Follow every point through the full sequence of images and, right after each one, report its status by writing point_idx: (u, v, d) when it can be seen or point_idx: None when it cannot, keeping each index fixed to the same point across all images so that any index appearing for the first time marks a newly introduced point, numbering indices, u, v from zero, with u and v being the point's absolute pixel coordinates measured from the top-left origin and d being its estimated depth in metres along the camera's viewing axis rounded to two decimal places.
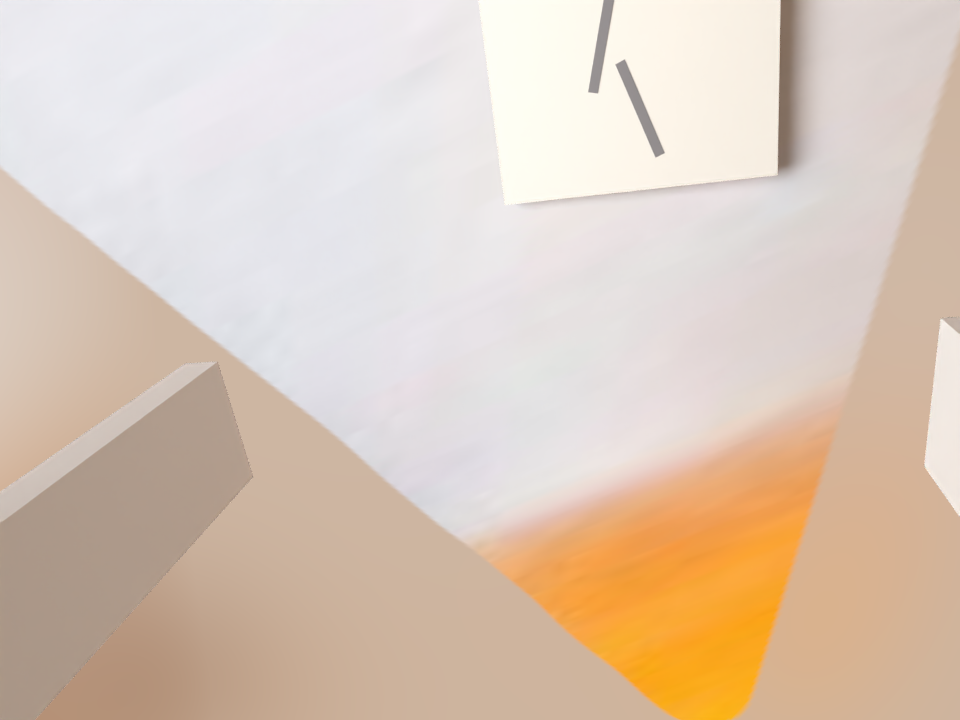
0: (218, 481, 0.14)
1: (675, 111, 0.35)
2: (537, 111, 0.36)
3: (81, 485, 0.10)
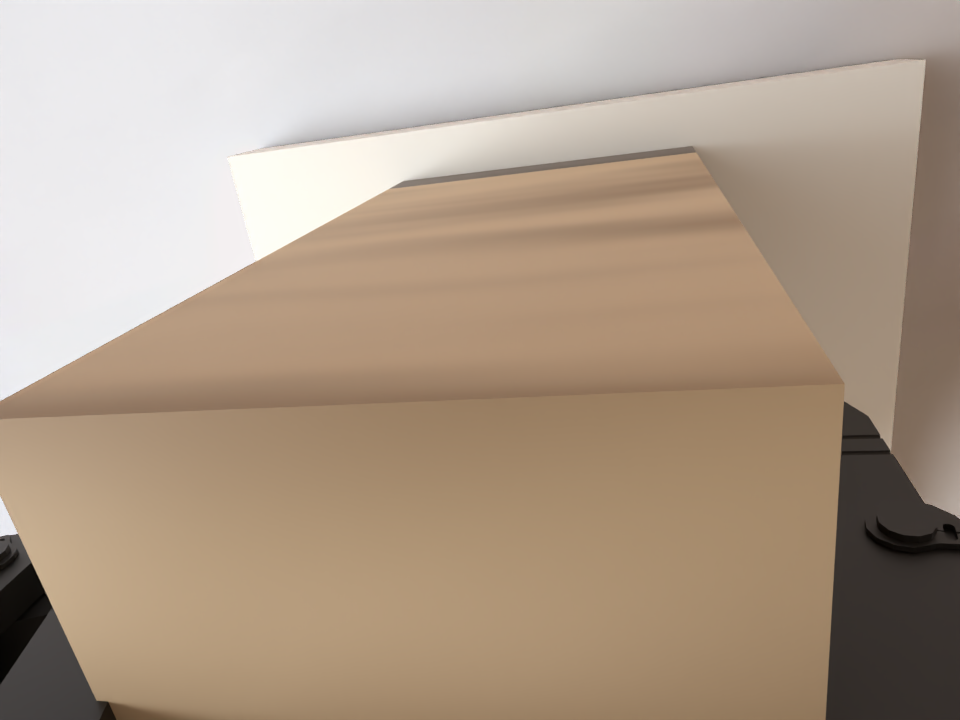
0: None
1: None
2: None
3: None
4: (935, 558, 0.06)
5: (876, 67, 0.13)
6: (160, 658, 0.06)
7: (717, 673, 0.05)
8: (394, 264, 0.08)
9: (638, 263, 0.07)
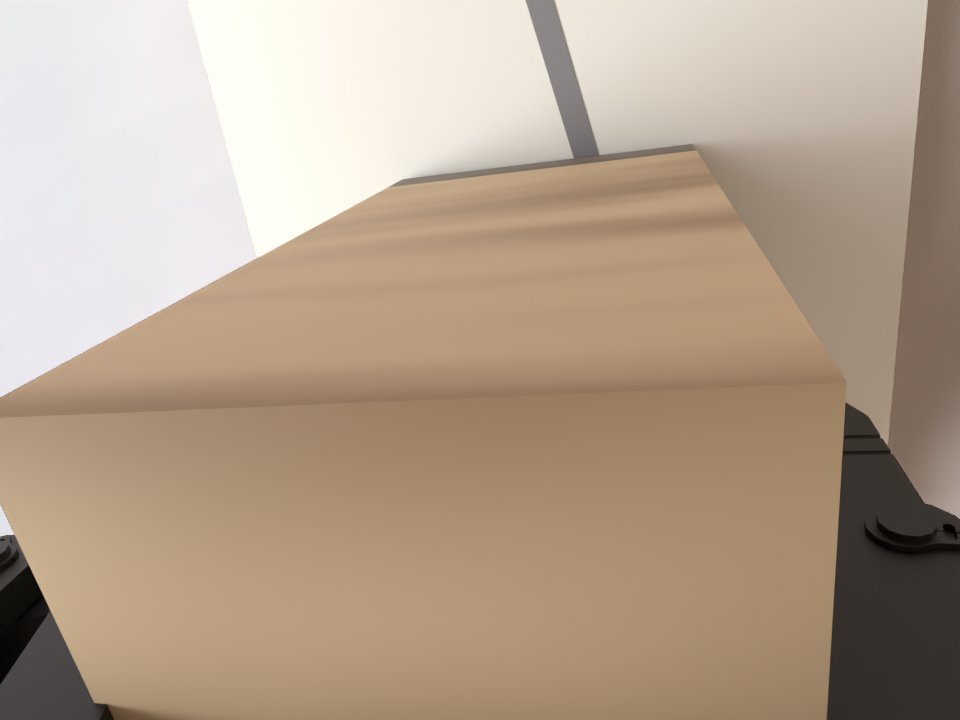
0: None
1: None
2: None
3: None
4: (935, 558, 0.06)
5: None
6: (157, 658, 0.06)
7: (719, 674, 0.05)
8: (393, 262, 0.08)
9: (636, 261, 0.06)
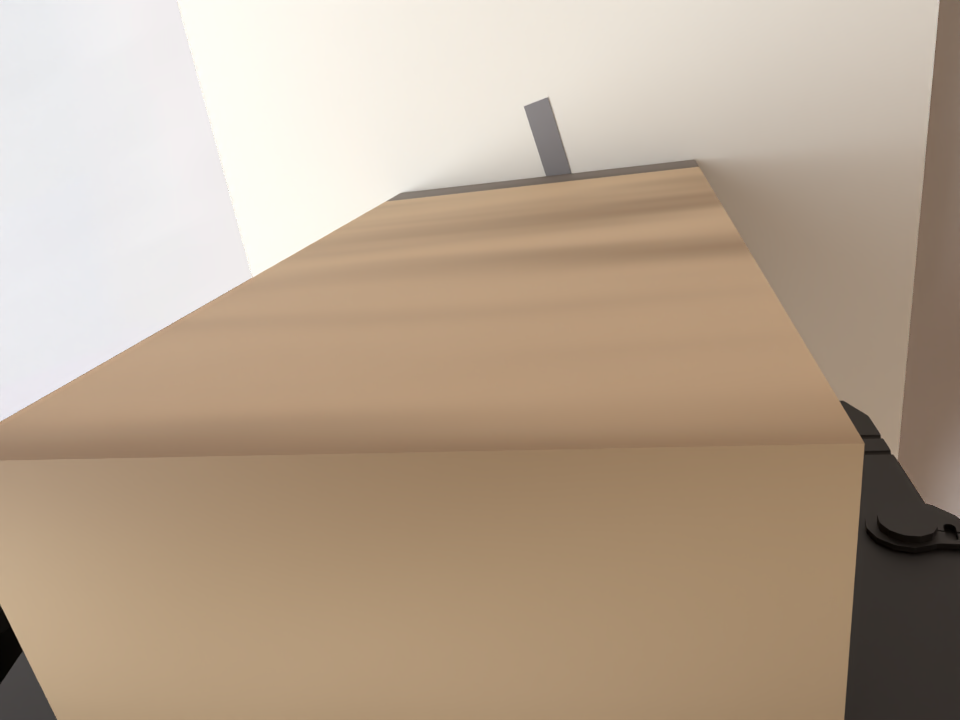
0: None
1: None
2: None
3: None
4: (936, 558, 0.06)
5: None
6: (137, 707, 0.06)
7: None
8: (387, 287, 0.08)
9: (639, 293, 0.06)
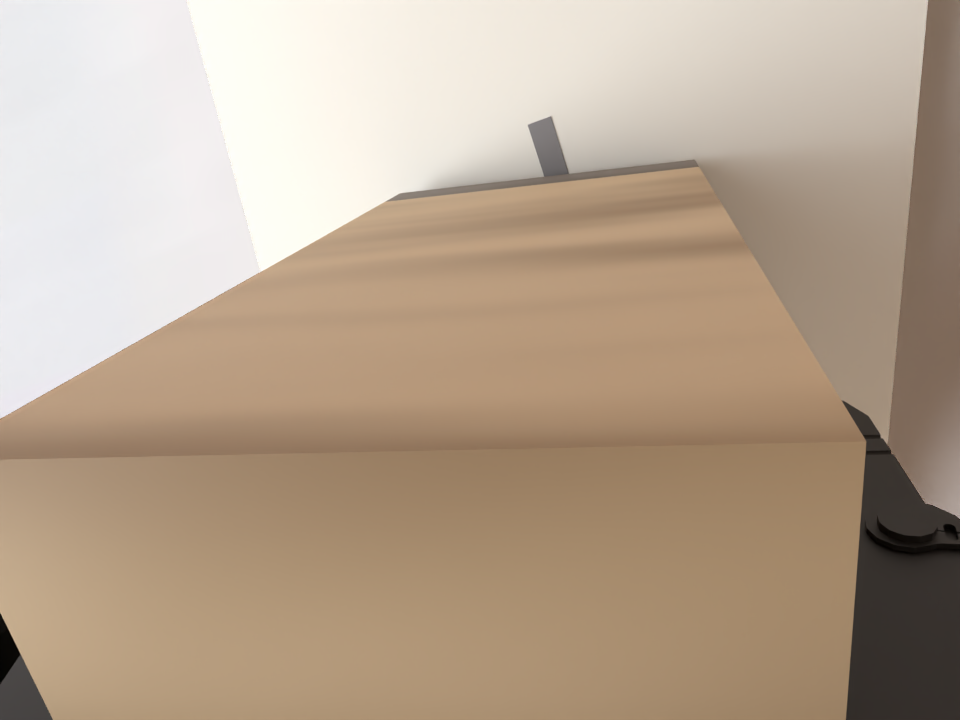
0: None
1: None
2: None
3: None
4: (936, 558, 0.06)
5: None
6: (134, 708, 0.06)
7: None
8: (387, 287, 0.08)
9: (640, 291, 0.06)
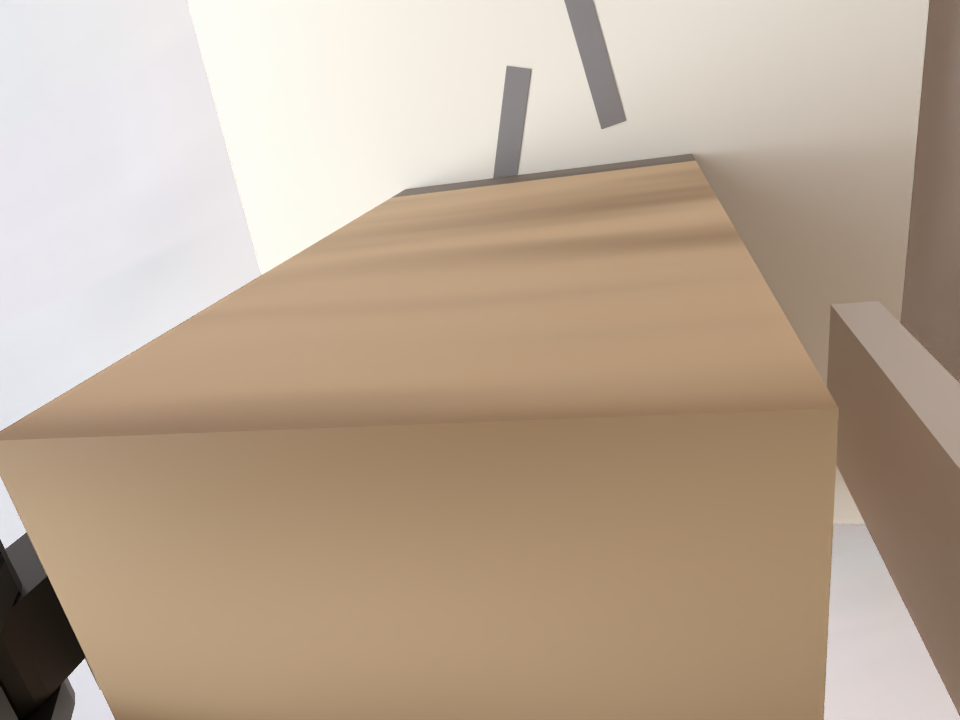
0: None
1: None
2: None
3: None
4: None
5: None
6: (173, 671, 0.06)
7: (717, 685, 0.05)
8: (398, 279, 0.08)
9: (638, 280, 0.07)
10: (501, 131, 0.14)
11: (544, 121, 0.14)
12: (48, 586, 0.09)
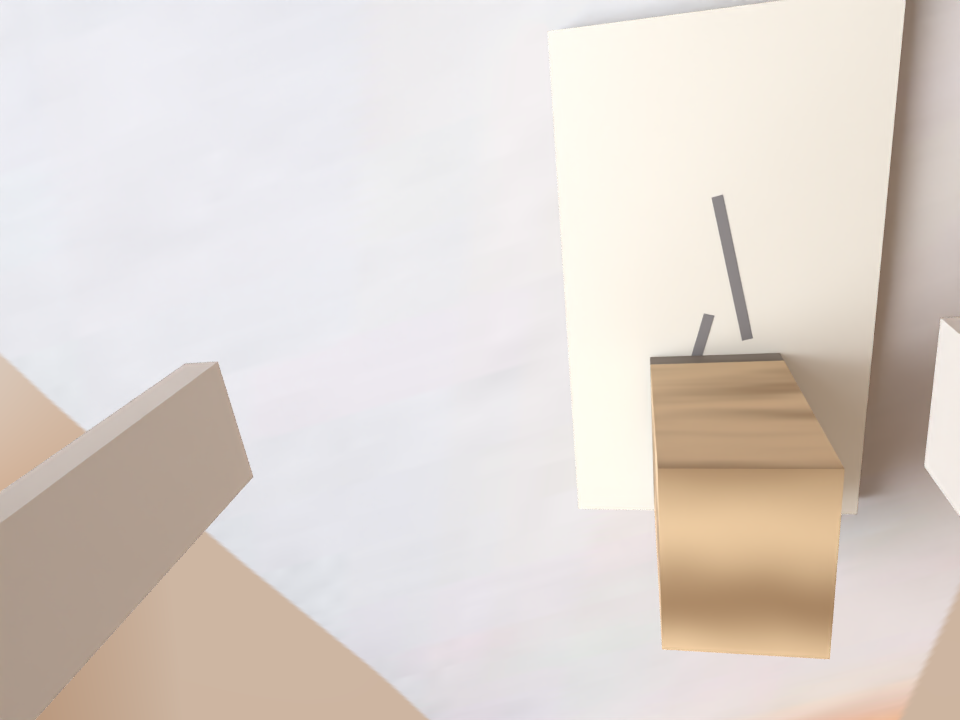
0: (218, 481, 0.14)
1: None
2: (618, 433, 0.36)
3: (81, 485, 0.10)
4: None
5: None
6: (683, 524, 0.25)
7: (818, 523, 0.24)
8: (713, 422, 0.27)
9: (791, 431, 0.26)
10: (698, 338, 0.34)
11: (717, 335, 0.33)
12: None
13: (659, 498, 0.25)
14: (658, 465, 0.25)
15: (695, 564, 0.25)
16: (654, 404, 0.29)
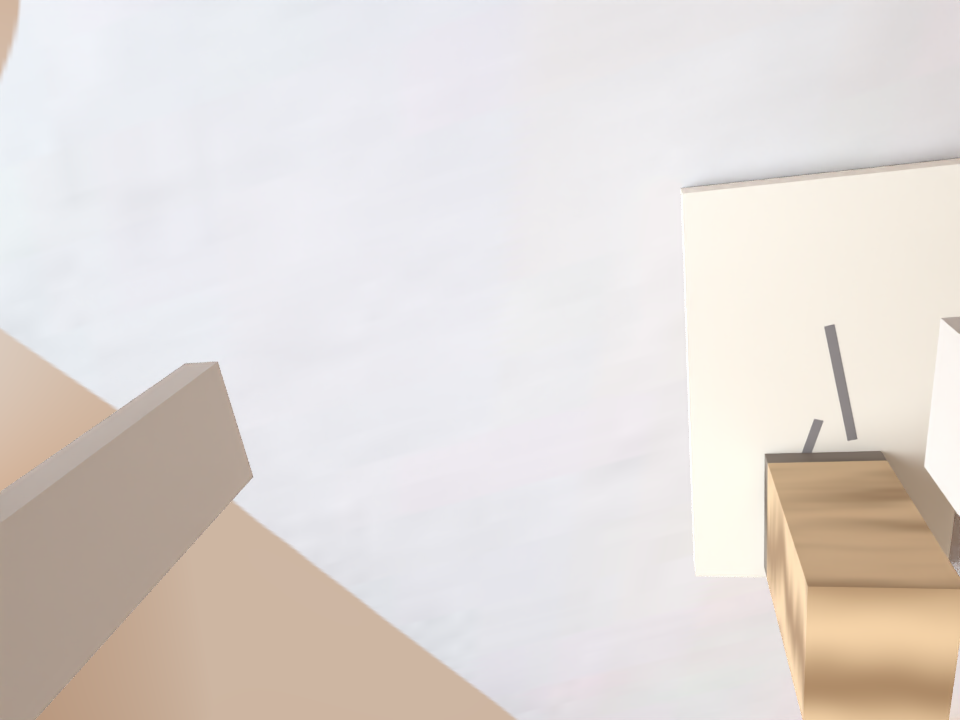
0: (218, 481, 0.14)
1: None
2: (734, 515, 0.42)
3: (81, 485, 0.10)
4: None
5: None
6: (827, 628, 0.30)
7: (942, 629, 0.29)
8: (841, 534, 0.33)
9: (912, 545, 0.31)
10: (808, 438, 0.39)
11: (825, 436, 0.39)
12: None
13: (808, 608, 0.30)
14: (807, 583, 0.30)
15: (835, 658, 0.31)
16: (784, 512, 0.35)
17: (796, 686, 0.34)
